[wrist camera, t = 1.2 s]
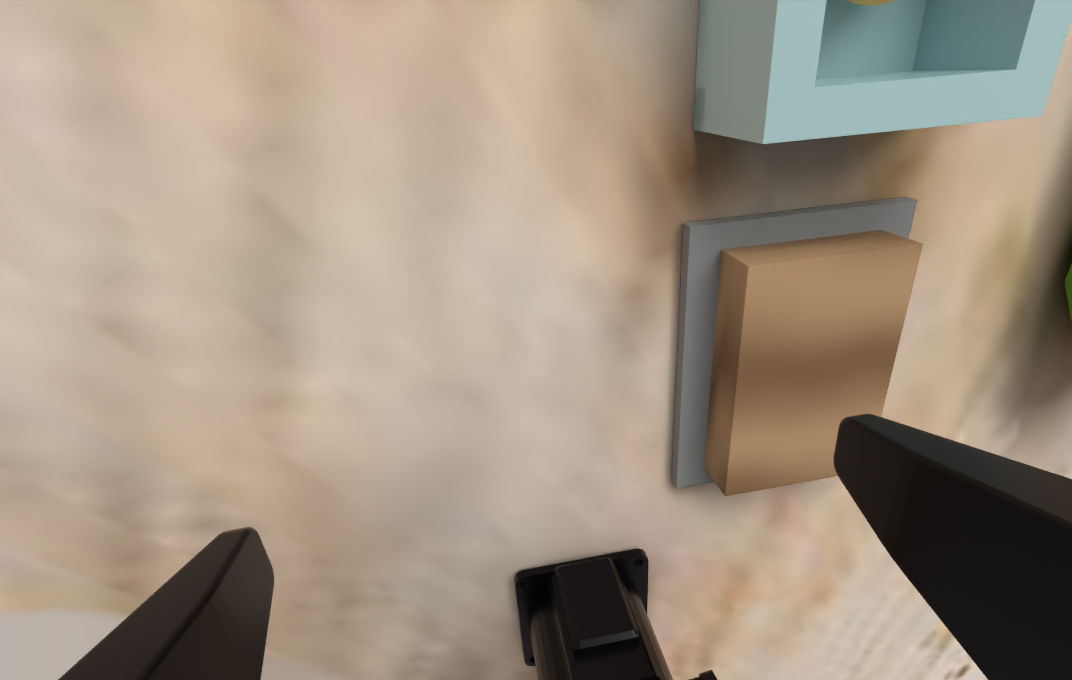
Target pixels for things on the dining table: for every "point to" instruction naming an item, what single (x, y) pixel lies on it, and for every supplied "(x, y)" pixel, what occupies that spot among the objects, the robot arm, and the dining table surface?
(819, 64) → the dish
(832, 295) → the board
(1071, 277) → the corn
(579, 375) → the dining table surface
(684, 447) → the mat
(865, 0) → the clementine
